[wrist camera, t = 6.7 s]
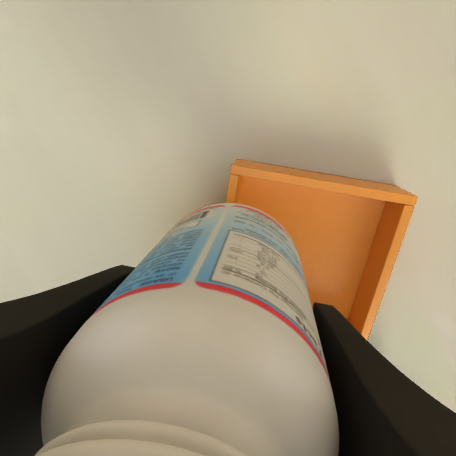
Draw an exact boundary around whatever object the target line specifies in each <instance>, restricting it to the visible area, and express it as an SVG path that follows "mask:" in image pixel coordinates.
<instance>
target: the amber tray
mask: <svg viewBox="0 0 456 456" xmlns="http://www.w3.org/2000/svg"><path fill="white" fill-rule="evenodd" d="M417 198H418V197H417V196H415V195H413V194H411V193H409V192H407V191H405V190H403V189H401V188H399V187H397V186H394V185H388V184H383V183H377V182H371V181H365V180H359V179H353V178H347V177H341V176H335V175H329V174H323V173H317V172H312V171H306V170H300V169H294V168H288V167H282V166H276V165H270V164H264V163H258V162H252V161H247V160H241V159H237V160H236V161H235V162H234V163H233V164H232V165H231V170H230V177H229V183H228V190H227V196H226V203H236V204H243V205H247V206H250V207H253V208H256V209H258V210H261V211H263V212H265V213H266V214H268V215H270V216H271V217H272V218H274V219H275V220H276V221H277V222H278V223H279V224H281V225H282V226H283V227H284V229H285V230H286V231H287V233H288V234H289V235H290V237H291V239H292V240H293V242H294V244H295V246H296V249H297V252H298V254H299V257H300V261H301V265H302V269H303V274H304V277H305V281H306V285H307V289H308V293H309V297H310V301H311V305H312V309H313V305H314V302H316V303H322V304H327V305H332V306H334V307H335V308H336V309H337V310H338V311H339V312H340V313H341V314H342V315H343V316H344V317H345V318H346V319H347V320H348V321H349V322H350V323H351V325H352V326H353V327H354V328H355V329H356V330H357V331H358V332H359V333H360V334H361V335H362V336H363V337H364V338H365V339H366V340H368V337H369V334H370V331H371V328H372V326H373V323H374V320H375V317H376V314H377V311H378V309H379V306H380V303H381V300H382V297H383V294H384V292H385V289H386V286H387V283H388V280H389V277H390V274H391V272H392V269H393V266H394V263H395V260H396V257H397V255H398V252H399V249H400V246H401V243H402V240H403V237H404V235H405V232H406V229H407V226H408V223H409V220H410V218H411V215H412V212H413V209H414V206H415V203H416V201H417Z"/></svg>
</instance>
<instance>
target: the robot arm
mask: <svg viewBox="0 0 456 456" xmlns="http://www.w3.org/2000/svg"><path fill="white" fill-rule="evenodd" d="M134 269H135V267H129V266H124V265H120V266H116V267H113V268H110V269H107V270H104V271H101V272H99V273H96V274H93V275H91V276H88V277H85V278H83V279H80V280H77V281H74V282H72V283H69V284H66V285H63V286H60V287H57V288H53V289H50V290H47V291H44V292H41V293H38V294H35V295H31V296H27V297H24V298H20V299H16V300H12V301H7V302H3V303H0V456H35V455H36V453H37V452H38V451H39V450H40V449H41V448H42V447H43V446H44V445H43V440H42V431H41V412H42V401H43V397H44V392H45V388H46V385H47V382H48V379H49V376H50V373H51V371H52V369H53V367H54V365H55V363H56V361H57V360H58V358H59V356H60V355H61V353H62V351H63V350H64V348H65V347H66V345H67V344H68V343H69V342H70V340H71V339H72V338H73V337H74V335H75V334H76V333H77V332H78V331H79V329H80V328H81V327H82V326H83V324H84V323H85V322H86V321H87V320H88V319H89V318H90V317H91V316H92V315H93V314H94V312H95V311H96V310H97V309H98V308H99V307H100V306H101V305H102V304H103V303H104V302H105V300H106V299H107V298H108V297H109V296H110V295H111V294H112V293H113V292H114V291H115V290H116V289H117V287H118V286H119V285H120V284H121V283H122V282H123V281H124V280H125V279H126V278H127V277H128V276H129V275H130V273H131V272H132V271H133V270H134ZM312 310H313V314H314V318H315V322H316V326H317V329H318V334H319V338H320V342H321V346H322V350H323V354H324V358H325V361H326V366H327V370H328V374H329V379H330V384H331V387H332V391H333V396H334V401H335V406H336V411H337V417H338V426H339V453H338V456H456V413H454V412H453V411H452V410H450V409H449V408H447V407H446V406H444V405H443V404H441V403H440V402H439V401H437V400H436V399H435V398H433V397H432V396H430V395H429V394H428V393H427V392H425V391H424V390H423V389H421V388H420V387H419V386H418V385H416V384H415V383H414V382H413V381H411V380H410V379H409V378H408V377H406V376H405V375H404V374H403V373H402V372H400V371H399V370H398V369H397V368H396V367H395V366H394V365H392V364H391V363H390V362H389V361H388V360H387V359H386V358H385V357H384V356H383V355H381V354H380V353H379V352H378V351H377V350H376V349H375V348H374V347H373V346H372V345H371V344H370V343H369V342H368V341H367V340H366V339H365V338H364V337H363V336H362V335H361V334H360V333H359V332H358V331H357V330H356V329H355V328H354V327H353V326H352V325H351V323H350V322H349V321H348V320H347V319H346V318H345V317H344V316H343V315H342V314H341V313H340V312H339V311H338V310H337V309H336V308H335V307H334V306H332V305H327V304H322V303H316V302H314V305H313V309H312Z"/></svg>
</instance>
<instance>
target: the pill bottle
mask: <svg viewBox="0 0 456 456" xmlns="http://www.w3.org/2000/svg"><path fill="white" fill-rule="evenodd" d="M41 431H42V440H43V445H44V446H43V447H42V448H41V449H40V450H39V451H38V452H37V453H36V455H35V456H338V453H339V426H338V417H337V411H336V406H335V401H334V396H333V391H332V387H331V384H330V379H329V374H328V370H327V366H326V361H325V358H324V354H323V350H322V346H321V342H320V338H319V334H318V329H317V326H316V322H315V318H314V314H313V310H312V305H311V301H310V297H309V293H308V289H307V285H306V281H305V277H304V274H303V269H302V265H301V261H300V257H299V254H298V252H297V249H296V246H295V244H294V242H293V240H292V239H291V237H290V235H289V234H288V233H287V231H286V230H285V229H284V227H283V226H282V225H281V224H279V223H278V222H277V221H276V220H275V219H274V218H272V217H271V216H270V215H268V214H266V213H265V212H263V211H261V210H258V209H256V208H253V207H250V206H247V205H243V204H236V203H219V204H213V205H208V206H205V207H202V208H200V209H197V210H195V211H193V212H192V213H190V214H188V215H187V216H185V217H184V218H183V219H181V220H180V221H179V222H178V223H177V224H176V225H175V226H174V227H173V228H172V229H171V230H170V231H169V233H168V234H167V235H166V236H165V237H164V238H163V239H162V240H161V241H160V242H159V243H158V244H157V245H156V246H155V247H154V249H153V250H152V251H151V252H150V253H149V254H148V255H147V256H146V257H145V258H144V260H143V261H142V262H141V263H140V264H139V265H138V266H137V267H136V268H135V269H134V270H133V271H132V272H131V273H130V275H129V276H128V277H127V278H126V279H125V280H124V281H123V282H122V283H121V284H120V285H119V286H118V287H117V289H116V290H115V291H114V292H113V293H112V294H111V295H110V296H109V297H108V298H107V299H106V300H105V302H104V303H103V304H102V305H101V306H100V307H99V308H98V309H97V310H96V311H95V312H94V314H93V315H92V316H91V317H90V318H89V319H88V320H87V321H86V322H85V323H84V324H83V326H82V327H81V328H80V329H79V331H78V332H77V333H76V334H75V335H74V337H73V338H72V339H71V340H70V342H69V343H68V344H67V345H66V347H65V348H64V350H63V351H62V353H61V355H60V356H59V358H58V360H57V361H56V363H55V365H54V367H53V369H52V371H51V373H50V376H49V379H48V382H47V385H46V388H45V392H44V397H43V401H42V412H41Z"/></svg>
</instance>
